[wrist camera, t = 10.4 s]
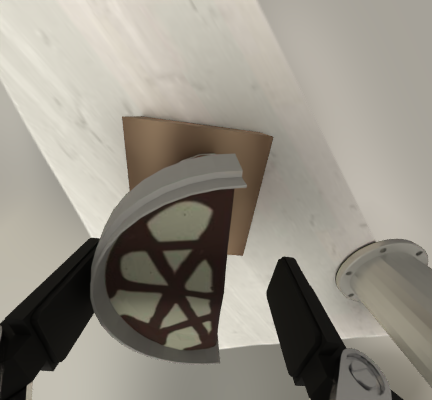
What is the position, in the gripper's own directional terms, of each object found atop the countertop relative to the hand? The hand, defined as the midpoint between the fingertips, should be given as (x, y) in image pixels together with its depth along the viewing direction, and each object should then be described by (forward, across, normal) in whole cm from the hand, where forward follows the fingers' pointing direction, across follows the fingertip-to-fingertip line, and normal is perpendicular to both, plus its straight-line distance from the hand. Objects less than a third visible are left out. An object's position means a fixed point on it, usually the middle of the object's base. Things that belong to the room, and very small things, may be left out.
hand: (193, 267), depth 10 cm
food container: (+8, +2, 0) cm, 8 cm away
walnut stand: (+12, +1, 0) cm, 12 cm away
